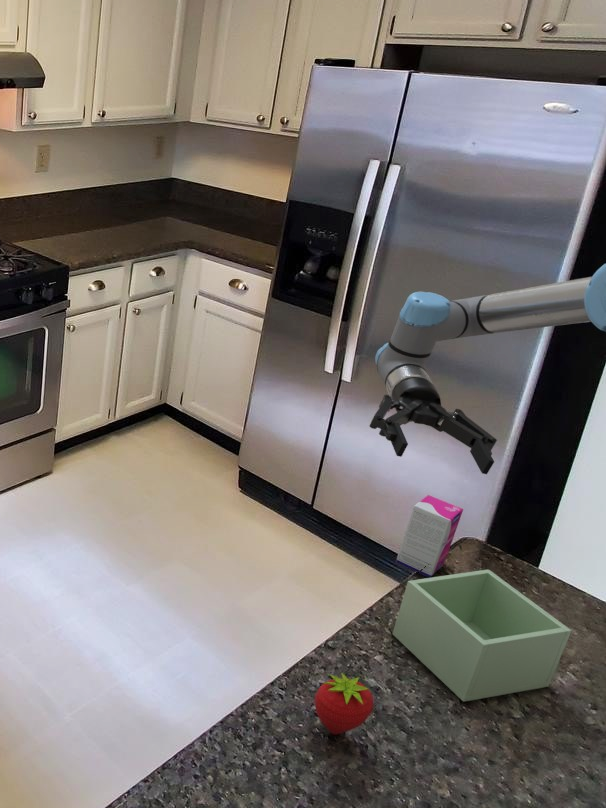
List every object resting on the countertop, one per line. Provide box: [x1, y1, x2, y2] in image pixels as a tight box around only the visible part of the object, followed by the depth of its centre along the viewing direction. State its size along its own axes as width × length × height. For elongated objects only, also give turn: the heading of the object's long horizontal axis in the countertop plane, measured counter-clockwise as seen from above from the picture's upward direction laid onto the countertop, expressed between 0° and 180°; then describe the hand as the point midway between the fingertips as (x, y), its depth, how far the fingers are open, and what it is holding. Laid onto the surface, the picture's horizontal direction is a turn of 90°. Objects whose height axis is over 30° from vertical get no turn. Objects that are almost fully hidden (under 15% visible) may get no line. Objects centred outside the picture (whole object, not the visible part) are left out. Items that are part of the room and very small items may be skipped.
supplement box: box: [395, 494, 464, 578], centre depth 132 cm, size 6×6×12 cm
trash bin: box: [392, 569, 572, 703], centre depth 112 cm, size 14×14×10 cm
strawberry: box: [314, 672, 374, 735], centre depth 100 cm, size 6×8×10 cm
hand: (445, 458), depth 133 cm, fingers open, 13 cm apart
